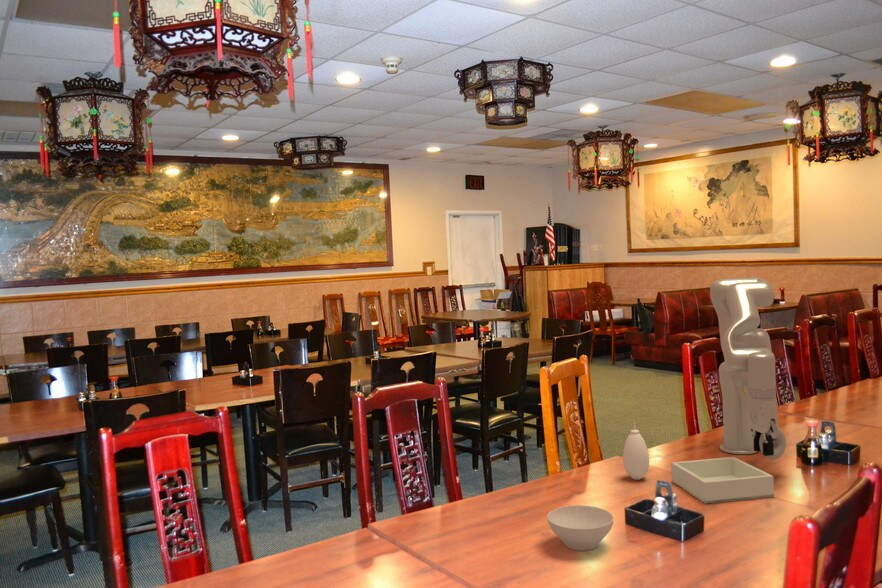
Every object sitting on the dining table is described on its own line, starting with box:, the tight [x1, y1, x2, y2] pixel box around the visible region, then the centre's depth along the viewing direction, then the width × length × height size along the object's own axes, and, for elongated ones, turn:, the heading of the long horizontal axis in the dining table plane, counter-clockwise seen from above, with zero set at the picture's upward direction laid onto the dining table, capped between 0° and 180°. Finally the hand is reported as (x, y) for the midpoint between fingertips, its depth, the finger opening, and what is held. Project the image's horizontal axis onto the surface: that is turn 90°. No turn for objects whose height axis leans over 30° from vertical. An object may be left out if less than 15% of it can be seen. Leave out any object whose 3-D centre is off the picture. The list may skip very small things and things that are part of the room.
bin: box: [670, 456, 775, 505], centre depth 205 cm, size 20×20×6 cm
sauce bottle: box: [622, 421, 650, 481], centre depth 219 cm, size 8×8×18 cm
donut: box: [759, 427, 787, 460], centre depth 213 cm, size 10×3×10 cm, turn 118°
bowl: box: [546, 504, 615, 552], centre depth 171 cm, size 16×16×7 cm
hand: (763, 452), depth 212 cm, fingers closed on donut, 4 cm apart
